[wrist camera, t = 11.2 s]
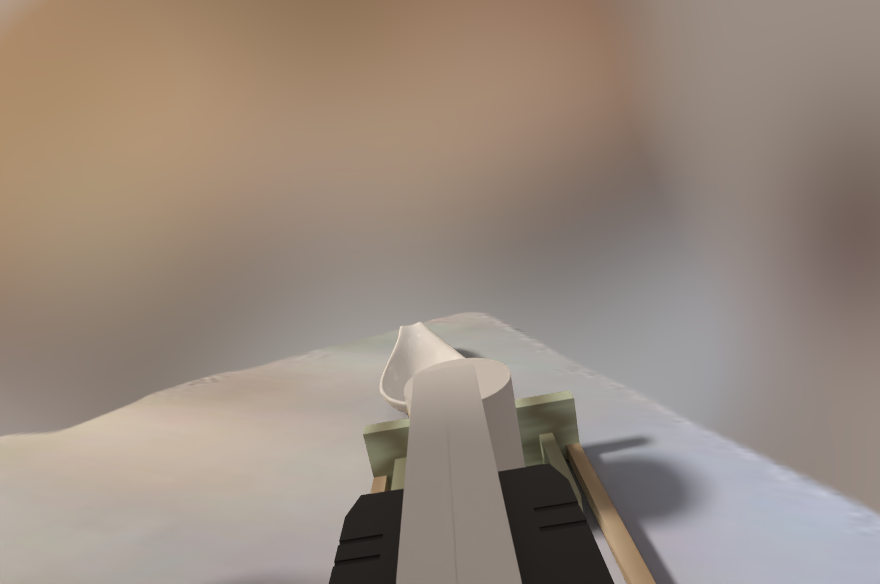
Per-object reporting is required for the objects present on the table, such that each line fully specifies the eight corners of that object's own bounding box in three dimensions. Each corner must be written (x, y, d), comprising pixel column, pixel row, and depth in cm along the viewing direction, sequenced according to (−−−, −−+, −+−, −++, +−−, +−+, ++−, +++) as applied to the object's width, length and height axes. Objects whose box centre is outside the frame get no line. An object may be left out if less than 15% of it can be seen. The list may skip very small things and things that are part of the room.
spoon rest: (491, 414, 55) (481, 356, 53) (390, 440, 53) (376, 382, 51) (448, 348, 77) (440, 306, 76) (377, 365, 76) (367, 323, 74)
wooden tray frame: (278, 1053, 16) (227, 940, 14) (379, 481, 46) (365, 425, 44) (852, 977, 15) (858, 851, 14) (576, 447, 45) (569, 390, 43)
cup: (435, 488, 43) (409, 366, 40) (525, 476, 42) (505, 351, 39) (429, 559, 35) (396, 414, 32) (539, 546, 34) (516, 397, 32)
